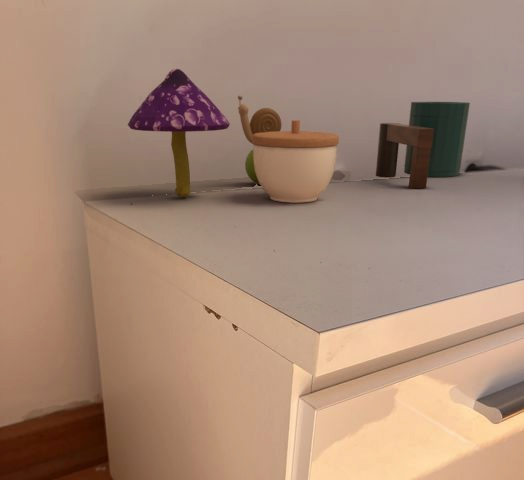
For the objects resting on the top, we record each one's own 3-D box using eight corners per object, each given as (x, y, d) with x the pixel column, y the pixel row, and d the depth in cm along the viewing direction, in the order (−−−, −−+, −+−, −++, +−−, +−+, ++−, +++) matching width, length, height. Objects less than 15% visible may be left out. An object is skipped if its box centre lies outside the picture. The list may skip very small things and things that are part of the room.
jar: (443, 169, 101) (452, 101, 96) (469, 176, 93) (480, 103, 88) (395, 170, 99) (402, 101, 95) (418, 177, 91) (427, 103, 87)
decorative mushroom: (182, 186, 82) (176, 70, 75) (250, 196, 75) (250, 69, 68) (113, 198, 73) (99, 68, 66) (183, 211, 66) (175, 66, 59)
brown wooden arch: (430, 188, 82) (437, 128, 78) (409, 188, 81) (416, 128, 78) (390, 174, 94) (395, 122, 91) (372, 174, 94) (377, 122, 90)
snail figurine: (235, 182, 86) (234, 95, 80) (276, 181, 87) (277, 95, 82) (242, 188, 81) (242, 95, 76) (286, 186, 82) (288, 95, 77)
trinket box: (289, 209, 67) (292, 124, 63) (235, 197, 74) (234, 119, 70) (352, 199, 73) (358, 121, 69) (296, 188, 80) (298, 117, 76)
